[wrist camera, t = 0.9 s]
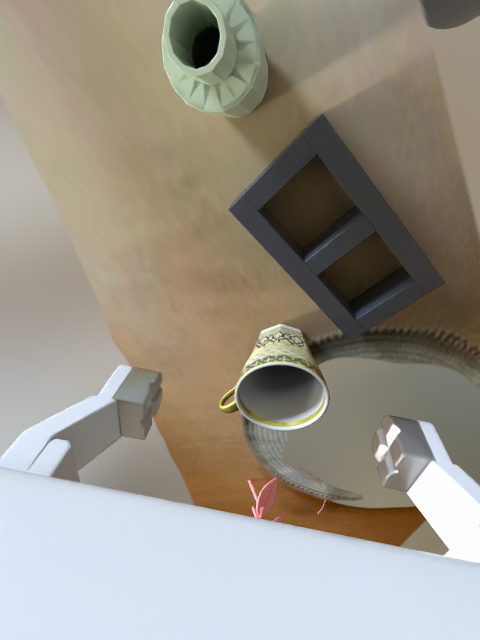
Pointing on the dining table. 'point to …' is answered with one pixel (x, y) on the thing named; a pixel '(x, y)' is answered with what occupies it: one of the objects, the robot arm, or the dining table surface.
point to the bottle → (215, 56)
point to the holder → (337, 234)
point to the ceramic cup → (280, 383)
